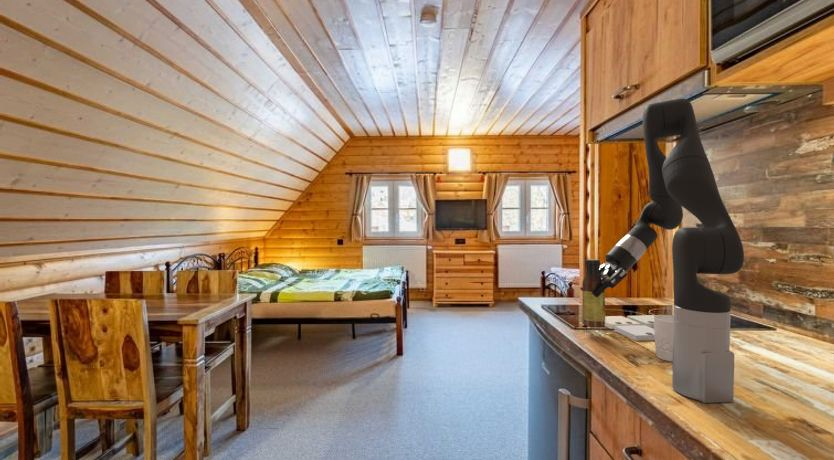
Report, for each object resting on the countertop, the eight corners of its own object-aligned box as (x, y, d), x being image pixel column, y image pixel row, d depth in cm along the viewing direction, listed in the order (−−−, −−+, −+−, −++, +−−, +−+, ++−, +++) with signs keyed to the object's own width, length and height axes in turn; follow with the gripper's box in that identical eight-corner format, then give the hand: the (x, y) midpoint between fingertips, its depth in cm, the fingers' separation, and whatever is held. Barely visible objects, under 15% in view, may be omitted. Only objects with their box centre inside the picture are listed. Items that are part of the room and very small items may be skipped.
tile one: (667, 339, 113) (668, 333, 113) (635, 340, 113) (635, 334, 112) (644, 330, 123) (644, 324, 123) (614, 330, 122) (614, 325, 122)
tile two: (640, 328, 125) (640, 322, 125) (610, 329, 124) (611, 323, 124) (621, 320, 135) (621, 315, 135) (593, 320, 134) (593, 316, 134)
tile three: (675, 327, 127) (675, 322, 126) (646, 328, 126) (646, 322, 126) (654, 319, 136) (654, 314, 136) (626, 320, 136) (627, 315, 135)
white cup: (690, 356, 100) (691, 317, 99) (690, 366, 93) (691, 324, 93) (654, 350, 104) (654, 313, 104) (652, 359, 98) (652, 319, 97)
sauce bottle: (609, 328, 115) (609, 260, 114) (587, 328, 115) (587, 260, 115) (599, 322, 121) (599, 258, 121) (578, 322, 121) (578, 258, 121)
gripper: (604, 243, 126) (568, 280, 125) (632, 246, 111) (592, 288, 111) (619, 259, 126) (584, 297, 125) (650, 264, 112) (610, 306, 111)
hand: (588, 292), depth 118 cm, fingers closed on sauce bottle, 6 cm apart
